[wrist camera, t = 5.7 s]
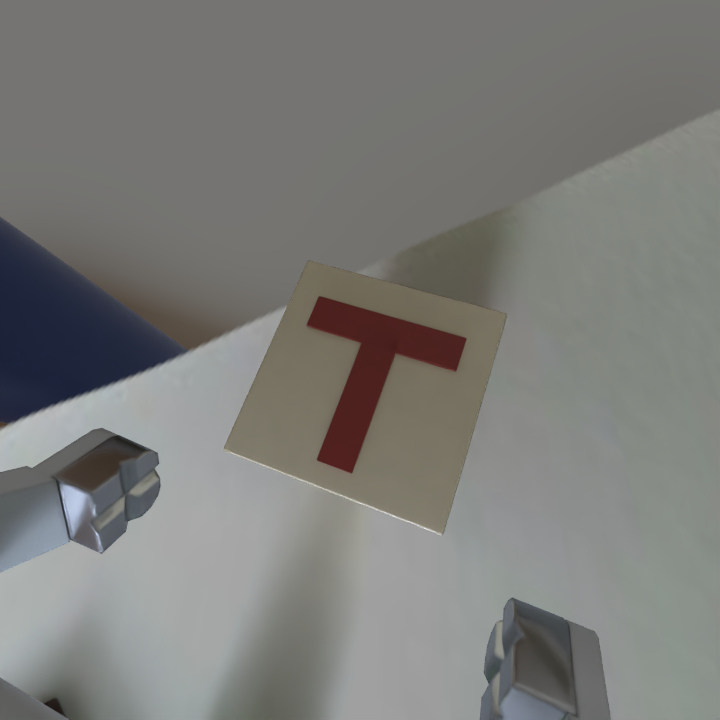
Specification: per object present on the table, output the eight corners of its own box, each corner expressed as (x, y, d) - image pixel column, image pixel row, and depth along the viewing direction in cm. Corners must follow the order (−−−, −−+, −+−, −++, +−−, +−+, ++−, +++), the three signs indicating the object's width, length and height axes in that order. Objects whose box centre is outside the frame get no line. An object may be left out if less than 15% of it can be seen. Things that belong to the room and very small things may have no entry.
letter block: (306, 476, 17) (219, 449, 10) (351, 361, 18) (306, 257, 11) (429, 524, 16) (443, 536, 8) (467, 398, 17) (509, 311, 10)
